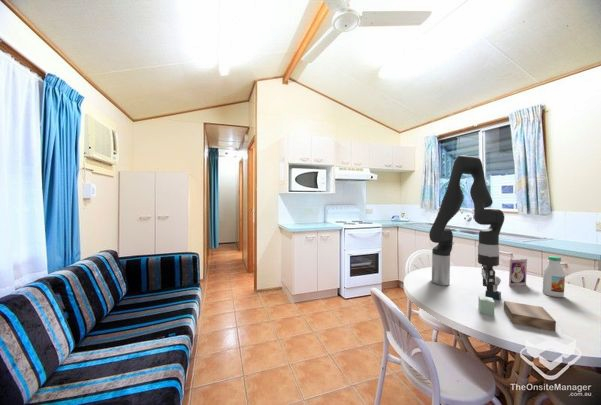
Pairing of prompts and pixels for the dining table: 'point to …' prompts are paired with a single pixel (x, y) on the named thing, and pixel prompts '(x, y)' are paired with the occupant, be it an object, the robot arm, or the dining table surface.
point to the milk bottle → (553, 278)
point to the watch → (495, 290)
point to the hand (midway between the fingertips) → (487, 289)
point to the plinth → (529, 315)
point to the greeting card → (517, 272)
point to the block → (486, 305)
